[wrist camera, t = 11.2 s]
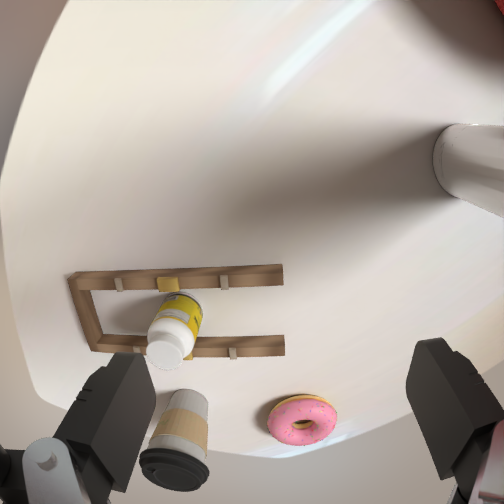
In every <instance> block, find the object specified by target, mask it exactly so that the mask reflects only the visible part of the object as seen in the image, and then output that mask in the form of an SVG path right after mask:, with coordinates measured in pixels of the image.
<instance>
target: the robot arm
mask: <svg viewBox="0 0 504 504" xmlns="http://www.w3.org/2000/svg"><path fill="white" fill-rule="evenodd" d="M433 167H434V171H435V175H436V177H437V179H438V182H439V183H440V185H441V186H442V188H443V189H444V190H446V191H447V192H448V193H449V194H451V195H453V196H455V197H458V198H460V199H462V200H465V201H467V202H469V203H471V204H474V205H476V206H478V207H480V208H483V209H485V210H487V211H489V212H492V213H494V214H496V215H498V216H500V217H502V218H504V126H496V125H479V124H454V125H452V126H449V127H448V128H446V129H445V130H444V131H443V132H442V133H441V134H440V136H439V137H438V139H437V141H436V144H435V147H434V152H433ZM406 394H407V398H408V400H409V403H410V405H411V407H412V410H413V412H414V414H415V417H416V419H417V421H418V424H419V426H420V429H421V431H422V433H423V436H424V438H425V441H426V443H427V446H428V448H429V451H430V453H431V456H432V459H433V461H434V464H435V466H436V469H437V472H438V474H439V477H440V480H444V479H447V478H450V477H453V476H455V479H456V482H457V483H456V484H455V485H454V487H453V490H452V492H451V495H450V498H449V500H448V502H447V504H504V410H503V409H502V407H501V405H500V403H499V402H498V400H497V399H496V397H495V396H494V394H493V393H492V392H491V390H490V388H489V387H488V386H487V384H486V383H484V380H483V378H482V377H481V375H480V374H478V371H477V370H476V368H475V367H474V365H473V364H472V363H471V361H470V360H469V359H467V358H466V357H465V356H463V355H462V354H460V353H459V352H458V351H454V352H453V351H452V349H451V348H450V347H449V345H448V344H447V343H446V341H445V340H444V339H443V338H441V337H440V338H434V339H427V340H421V341H418V342H417V344H416V346H415V349H414V353H413V357H412V361H411V365H410V369H409V372H408V376H407V379H406ZM155 404H156V393H155V389H154V386H153V383H152V380H151V377H150V374H149V371H148V368H147V365H146V361H145V358H144V356H143V355H142V354H141V353H136V352H120V351H118V352H116V353H115V354H114V355H113V357H112V359H111V360H110V362H109V363H108V365H107V367H104V366H102V367H100V368H99V369H98V370H97V371H96V372H94V373H93V374H92V375H91V376H89V378H88V380H87V381H86V383H85V384H84V386H83V388H82V391H80V392H79V394H78V396H77V397H76V401H74V402H73V404H72V406H71V407H70V409H69V410H68V412H67V414H66V415H65V417H64V419H63V421H62V422H61V424H60V426H59V427H58V429H57V431H56V433H55V434H54V436H53V437H52V438H42V439H39V440H36V441H35V442H33V443H32V444H31V445H29V446H28V447H27V449H26V450H8V449H4V448H3V447H2V446H1V445H0V499H1V500H2V501H3V504H111V502H110V500H109V499H108V497H109V494H110V492H111V490H115V491H119V492H123V493H125V492H126V489H127V486H128V483H129V480H130V477H131V474H132V471H133V468H134V465H135V462H136V460H137V457H138V454H139V450H140V448H141V445H142V442H143V440H144V437H145V434H146V431H147V428H148V426H149V423H150V420H151V417H152V415H153V412H154V409H155Z"/></svg>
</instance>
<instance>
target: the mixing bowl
mask: <svg viewBox="0 0 504 504" xmlns="http://www.w3.org/2000/svg"><path fill="white" fill-rule="evenodd" d="M494 1H495V2H496V4H497V6H498V8H499V9H500V11H501V12H502V14H503V15H504V0H494Z"/></svg>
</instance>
